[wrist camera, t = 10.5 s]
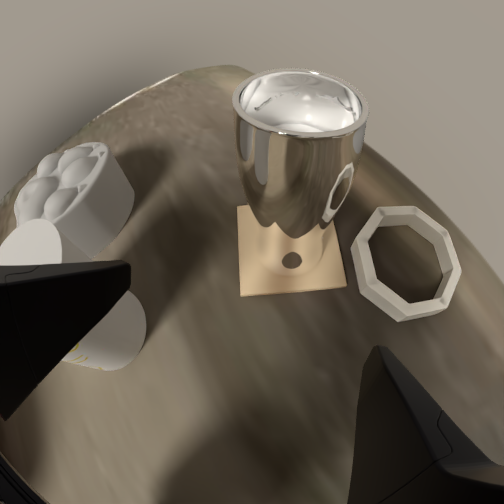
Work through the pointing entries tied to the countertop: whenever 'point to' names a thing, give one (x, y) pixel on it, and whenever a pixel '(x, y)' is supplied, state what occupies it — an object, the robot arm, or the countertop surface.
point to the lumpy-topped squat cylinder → (79, 196)
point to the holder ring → (381, 292)
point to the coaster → (265, 282)
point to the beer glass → (296, 159)
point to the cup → (110, 327)
